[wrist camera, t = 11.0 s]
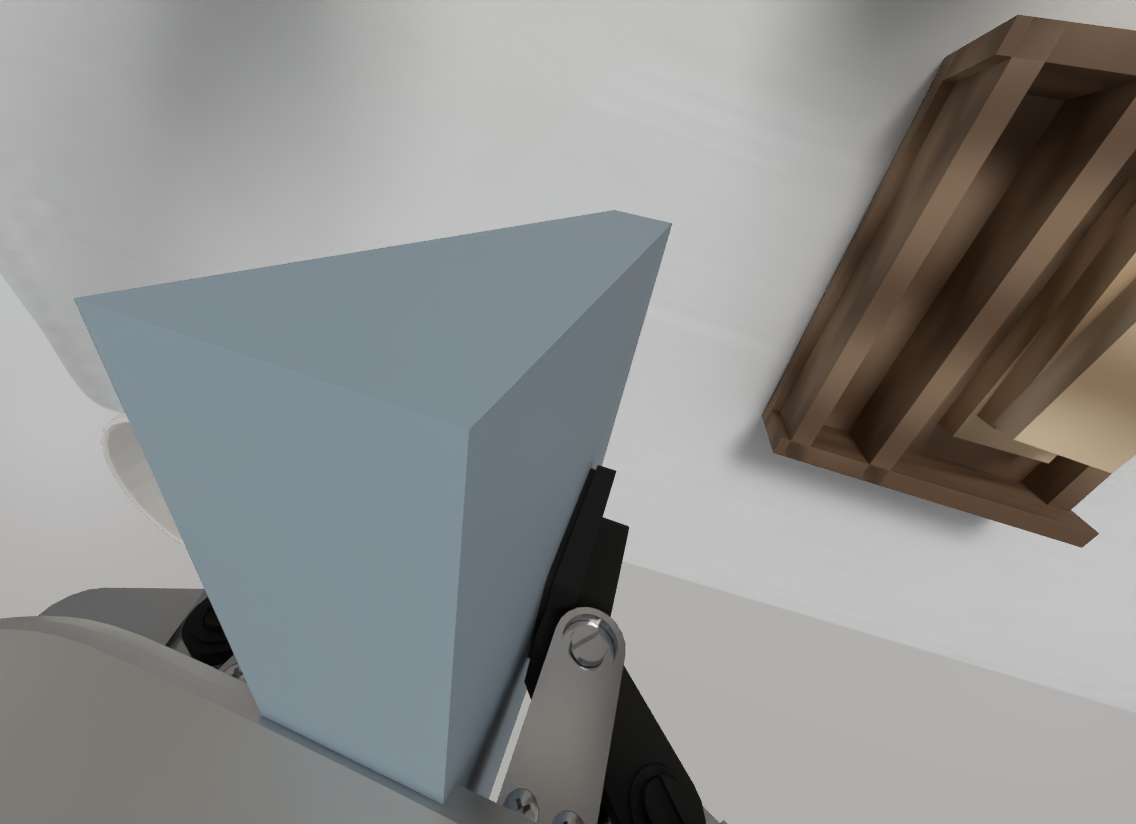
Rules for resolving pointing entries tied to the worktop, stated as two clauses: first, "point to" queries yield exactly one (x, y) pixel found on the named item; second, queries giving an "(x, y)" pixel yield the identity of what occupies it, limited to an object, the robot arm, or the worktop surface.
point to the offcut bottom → (1031, 336)
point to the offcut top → (1085, 394)
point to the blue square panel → (386, 467)
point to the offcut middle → (1071, 315)
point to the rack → (965, 271)
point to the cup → (136, 474)
